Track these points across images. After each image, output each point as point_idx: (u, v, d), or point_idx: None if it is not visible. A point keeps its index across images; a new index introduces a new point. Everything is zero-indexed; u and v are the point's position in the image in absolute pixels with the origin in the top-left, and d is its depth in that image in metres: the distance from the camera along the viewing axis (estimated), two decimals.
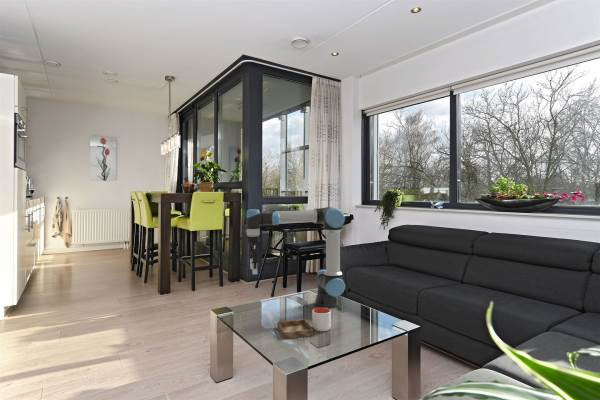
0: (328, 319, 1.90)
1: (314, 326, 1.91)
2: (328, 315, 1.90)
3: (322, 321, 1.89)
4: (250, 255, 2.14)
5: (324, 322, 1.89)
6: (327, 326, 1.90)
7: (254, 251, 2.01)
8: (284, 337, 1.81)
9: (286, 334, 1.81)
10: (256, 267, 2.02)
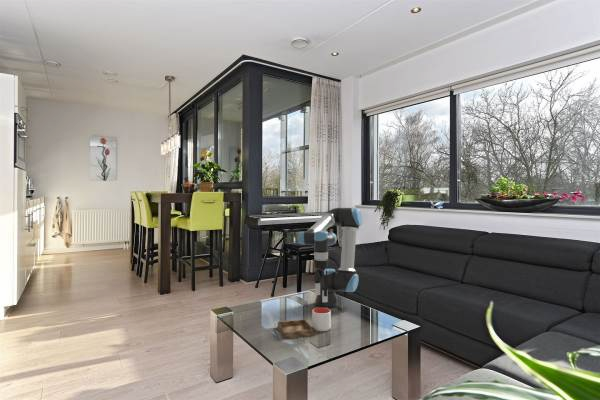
0: (328, 319, 1.90)
1: (314, 326, 1.91)
2: (328, 315, 1.90)
3: (322, 321, 1.89)
4: (316, 280, 1.98)
5: (324, 322, 1.89)
6: (327, 326, 1.90)
7: (325, 277, 1.85)
8: (284, 337, 1.81)
9: (286, 334, 1.81)
10: None
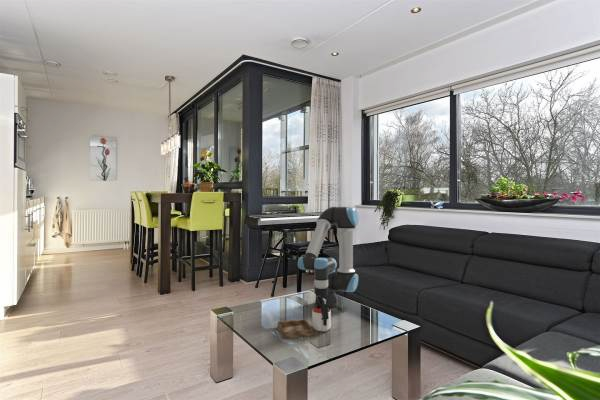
0: (328, 319, 1.90)
1: (314, 326, 1.91)
2: (328, 315, 1.90)
3: None
4: None
5: None
6: (327, 326, 1.90)
7: (325, 306, 1.86)
8: (284, 337, 1.81)
9: (286, 334, 1.81)
10: None
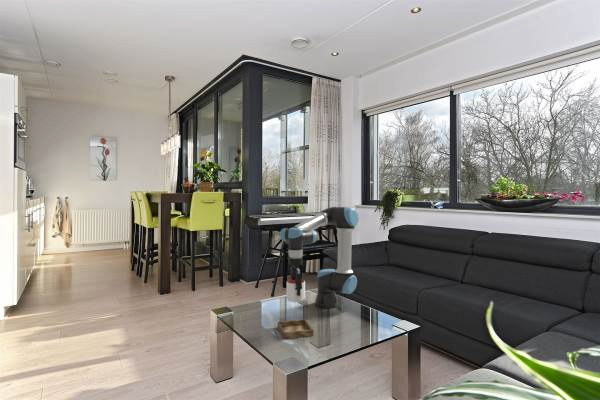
0: (302, 289, 1.86)
1: (288, 297, 1.87)
2: (302, 285, 1.86)
3: None
4: None
5: None
6: (301, 297, 1.86)
7: (298, 276, 1.83)
8: (284, 337, 1.81)
9: (286, 334, 1.81)
10: (300, 294, 1.84)
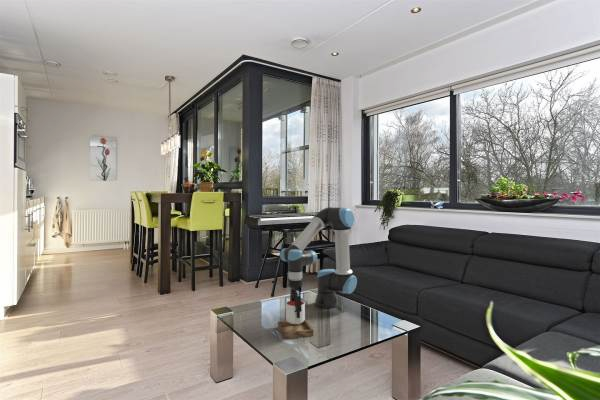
0: (302, 312, 1.86)
1: (287, 319, 1.87)
2: (302, 307, 1.86)
3: None
4: None
5: None
6: (301, 319, 1.86)
7: (298, 299, 1.83)
8: (284, 337, 1.81)
9: (286, 334, 1.81)
10: (299, 316, 1.85)
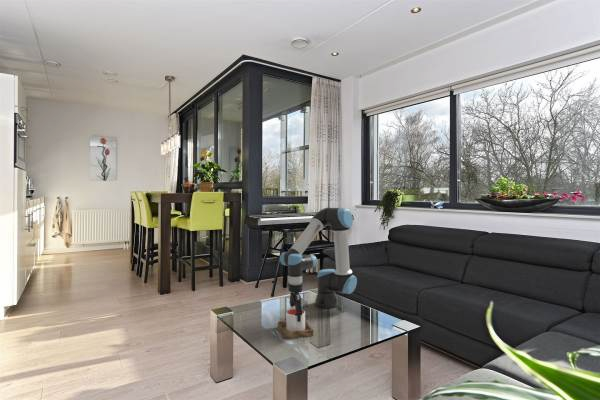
0: (302, 321, 1.87)
1: (288, 328, 1.87)
2: (302, 317, 1.87)
3: (295, 322, 1.85)
4: (291, 303, 1.95)
5: None
6: (301, 328, 1.86)
7: (298, 302, 1.82)
8: (284, 337, 1.81)
9: (286, 334, 1.81)
10: None
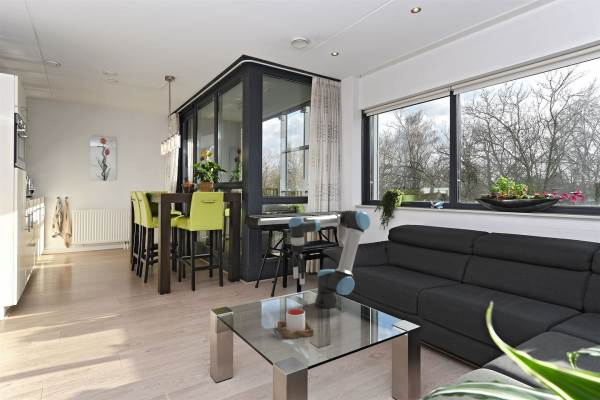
0: (302, 321, 1.87)
1: (288, 328, 1.87)
2: (302, 317, 1.87)
3: (295, 322, 1.85)
4: (293, 264, 2.08)
5: (298, 324, 1.85)
6: (301, 328, 1.86)
7: (301, 261, 1.95)
8: (284, 337, 1.81)
9: (286, 334, 1.81)
10: None
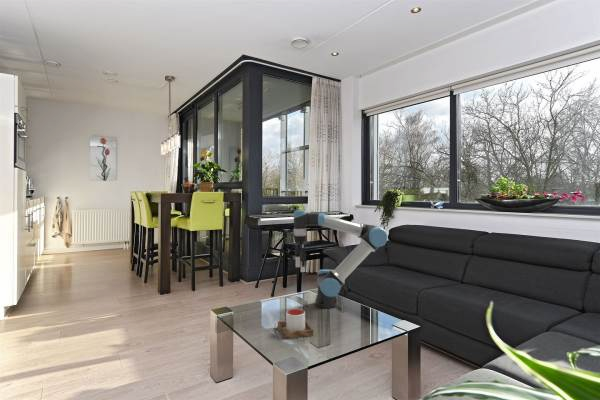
0: (302, 321, 1.87)
1: (288, 328, 1.87)
2: (302, 317, 1.87)
3: (295, 322, 1.85)
4: (296, 254, 2.24)
5: (298, 324, 1.85)
6: (301, 328, 1.86)
7: (302, 250, 2.11)
8: (284, 337, 1.81)
9: (286, 334, 1.81)
10: (304, 265, 2.12)
